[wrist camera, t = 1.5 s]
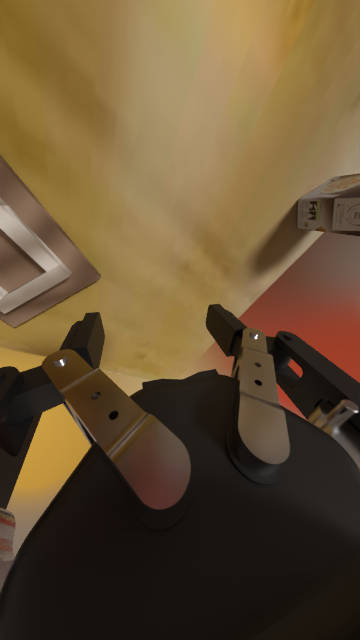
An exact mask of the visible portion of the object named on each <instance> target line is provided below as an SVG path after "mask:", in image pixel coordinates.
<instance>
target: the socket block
mask: <svg viewBox="0 0 360 640" xmlns="http://www.w3.org/2000/svg"><path fill="white" fill-rule="evenodd" d="M100 277H101V275H100V274H99V273H98V272H97V270H96V269H95V268H94V267H93V266H92V264H91V263H90V262H89V261H88V260H87V258H86V257H85V256H84V255H83V254H82V252H81V251H80V250H79V249H78V248H77V246H76V245H75V244H74V243H73V242H72V240H71V239H70V238H69V237H68V236H67V234H66V233H65V232H64V231H63V230H62V228H61V227H60V226H59V225H58V224H57V222H56V221H55V220H54V219H53V218H52V216H51V215H50V214H49V213H48V212H47V210H46V209H45V208H44V207H43V206H42V204H41V203H40V202H39V201H38V200H37V198H36V197H35V196H34V195H33V194H32V192H31V191H30V190H29V189H28V188H27V186H26V185H25V184H24V183H23V182H22V180H21V179H20V178H19V177H18V176H17V174H16V173H15V172H14V171H13V170H12V168H11V167H10V166H9V165H8V164H7V162H6V161H5V160H4V159H3V158H2V156H1V155H0V319H1V320H3V321H4V322H6V323H8V324H9V325H11V326H13V327H14V328H15V327H17V326H18V325H20V324H22V323H24V322H25V321H27V320H29V319H31V318H32V317H34V316H36V315H37V314H39V313H41V312H43V311H44V310H46V309H48V308H50V307H51V306H53V305H55V304H57V303H58V302H60V301H62V300H64V299H65V298H67V297H69V296H71V295H72V294H74V293H76V292H78V291H79V290H81V289H83V288H85V287H86V286H88V285H90V284H92V283H93V282H95V281H97V280H99V279H100Z"/></svg>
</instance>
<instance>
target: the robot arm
mask: <svg viewBox="0 0 360 640" xmlns="http://www.w3.org/2000/svg"><path fill="white" fill-rule="evenodd" d="M206 327H207V329H208V331H209V332H210V334H211V335H212V336H213V338H214V339H215V341H216V342H217V343H218V345H219V346H220V348H221V349H222V351H223V352H224V353H225V355H226V356H227V357H228V356H234V360H233V365H232V372H231V377H229V376H225V375H219V374H218V372H217V371H216V369H214V370H209V371H202V372H199V373H196V374H194V375H192V376H190V377H187V378H185V379H182V380H177V379H159V380H153V381H148V382H143V383H142V385H143V389H141V390H139V391H137V392H136V393H134V394H132V395H131V396H130V397H129V396H128V395H127V394H125V392H123V391H122V390H121V389H120V388H119V387H118V386H117V385H116V384H115V383H114V382H113V381H112V380H111V379H110V378H108V376H107V375H106V374H104V373H103V372H102V371H101V370H100V369H99V365H100V360H101V355H102V350H103V345H104V339H105V335H104V329H103V325H102V320H101V316H100V313H99V312H94V313H86V314H85V317H84V319H83V321H77V322H76V323H75V324H74V325H72V327H71V329H70V331H69V332H68V334H67V337H66V338H65V340H64V342H63V344H62V346H61V348H60V350H59V351H57V352H54V353H52V354H51V355H49V356H48V357H46V358H45V359H44V361H43V363H42V365H41V366H39V367H36V368H33V369H29V370H27V371H23V372H19V371H18V369H16V368H15V367H11V366H8V367H2V368H0V640H360V383H359V382H357V381H356V380H355V379H353V378H352V377H351V376H349V375H348V374H347V373H345V372H344V371H343V370H341V369H340V368H339V367H337V366H336V365H335V364H333V363H332V362H331V361H329V360H328V359H327V358H326V357H324V356H323V355H321V354H320V353H319V352H318V351H316V350H315V349H314V348H312V347H311V346H309V345H308V344H307V343H306V342H304V341H303V340H302V339H300V338H299V337H298V336H296V335H295V334H292V333H290V332H286V331H279V332H278V333H277V334H276V337H267V336H265V334H264V333H263V332H261V331H260V330H257V329H254V328H247V327H246V326H245V325H244V324H243V323H242V322H241V321H240V320H238V318H236V317H235V316H234V315H233V314H232V313H231V312H229V311H227V310H225V309H224V308H223V307H222V306H221V305H220V304H213V305H209V307H208V312H207V318H206ZM291 359H293V360H294V361H295V362H296V363H297V364H298V365H299V366H300V367H301V368H302V371H303V375H302V377H301V378H300V377H299V376H298V375H297V374H296V373H295V372H294V371H293V370H292V369H291V368H290V367H289V366H288V364H289V362H290V361H291ZM276 382H277V384H278V385H279V386H280V387H281V389H282V390H283V391H284V392H285V393H286V394H287V396H288V397H289V398H290V399H291V401H292V402H293V403H294V404H295V405H296V407H297V408H298V409H299V410H300V411H301V413H302V414H303V415H304V416H305V417H306V419H307V420H308V421H309V422H308V421H307V420H305V419H303V418H301V417H300V416H298V415H296V414H295V413H293V412H291V411H289V410H288V409H286V408H284V407H283V406H281V405H280V404H279V399H278V391H277V385H276ZM62 403H63V404H64V406H65V407H66V409H67V410H68V412H69V413H70V415H71V416H72V418H73V419H74V420H75V422H76V423H77V425H78V426H79V428H80V429H81V431H82V432H83V434H84V436H85V437H86V439H87V440H88V442H89V443H90V445H91V448H90V449H89V450H88V452H87V453H86V454H85V456H84V457H83V459H82V460H81V461H80V463H79V464H78V466H77V467H76V468H75V470H74V471H73V473H72V474H71V475H70V477H69V478H68V479H67V481H66V482H65V484H64V485H63V486H62V488H61V490H60V491H59V492H58V493H57V495H56V496H55V498H54V499H53V500H52V502H51V503H50V504H49V506H48V507H47V509H46V510H45V511H44V513H43V514H42V516H41V517H40V518H39V520H38V521H37V523H36V524H35V525H34V527H33V528H32V530H31V531H30V532H29V534H28V536H27V537H26V539H25V540H24V542H23V544H22V545H21V548H20V549H19V551H18V553H17V555H16V557H15V556H14V554H13V548H12V544H13V537H14V532H15V525H16V522H15V517H14V515H13V514H12V513H11V512H9V511H7V510H6V508H7V505H8V503H9V500H10V497H11V495H12V492H13V489H14V487H15V484H16V481H17V479H18V476H19V473H20V470H21V468H22V465H23V463H24V460H25V457H26V455H27V452H28V449H29V447H30V444H31V441H32V439H33V436H34V433H35V431H36V428H37V425H38V423H39V420H40V417H41V415H42V412H44V411H46V410H49V409H51V408H53V407H55V406H58V405H60V404H62Z"/></svg>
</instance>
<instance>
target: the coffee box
mask: <svg viewBox="0 0 360 640" xmlns="http://www.w3.org/2000/svg"><path fill="white" fill-rule="evenodd" d="M297 228H298V229H306V230H314V231H322V232H330V233H338V234H346V235H355V236H360V174H353V175H346V176H338V177H334V178H332V179H331V180H329V181H327V182H326V183H324V184H323V185H321V186H319V187H318V188H316V189H315V190H313V191H311V192H310V193H308V194H307V195H305V196H303V197H302V198H300V199H299V200H298V221H297Z"/></svg>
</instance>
